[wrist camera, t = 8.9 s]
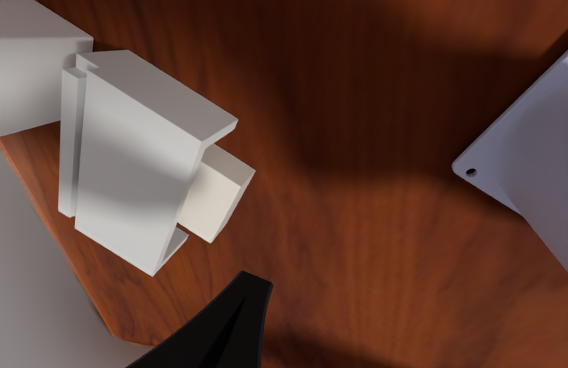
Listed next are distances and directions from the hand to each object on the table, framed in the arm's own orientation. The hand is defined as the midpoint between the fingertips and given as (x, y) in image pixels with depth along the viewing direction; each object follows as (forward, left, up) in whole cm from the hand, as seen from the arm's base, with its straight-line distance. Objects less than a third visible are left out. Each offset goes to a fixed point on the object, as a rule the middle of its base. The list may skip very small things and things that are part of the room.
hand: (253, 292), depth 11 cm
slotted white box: (+10, +5, -9) cm, 15 cm away
